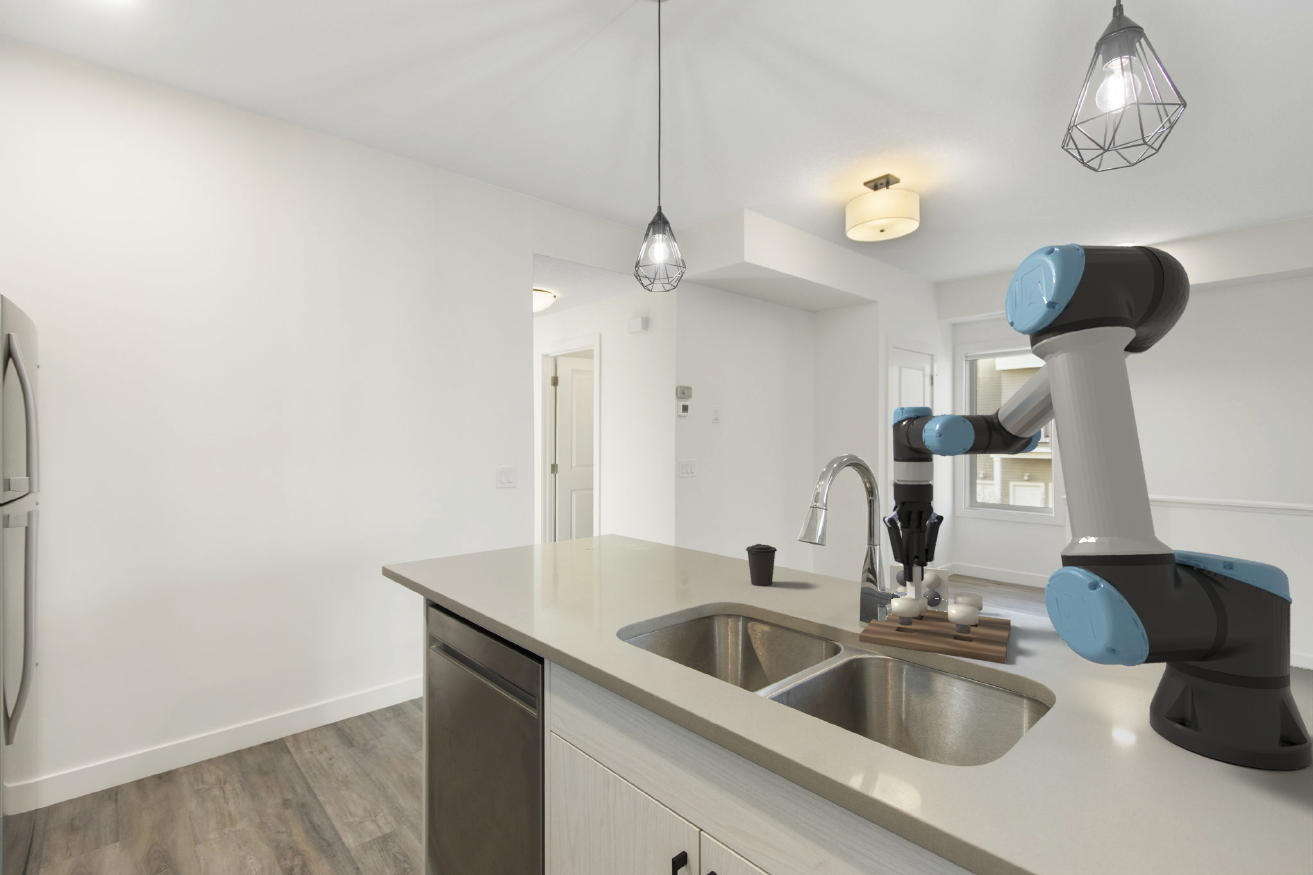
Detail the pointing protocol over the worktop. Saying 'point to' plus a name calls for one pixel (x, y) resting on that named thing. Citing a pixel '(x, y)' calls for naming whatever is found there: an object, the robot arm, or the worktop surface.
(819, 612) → the worktop surface
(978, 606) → the button
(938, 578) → the card
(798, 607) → the worktop surface
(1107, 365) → the robot arm
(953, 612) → the button
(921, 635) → the board
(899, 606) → the button
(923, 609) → the button
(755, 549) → the coffee cup
